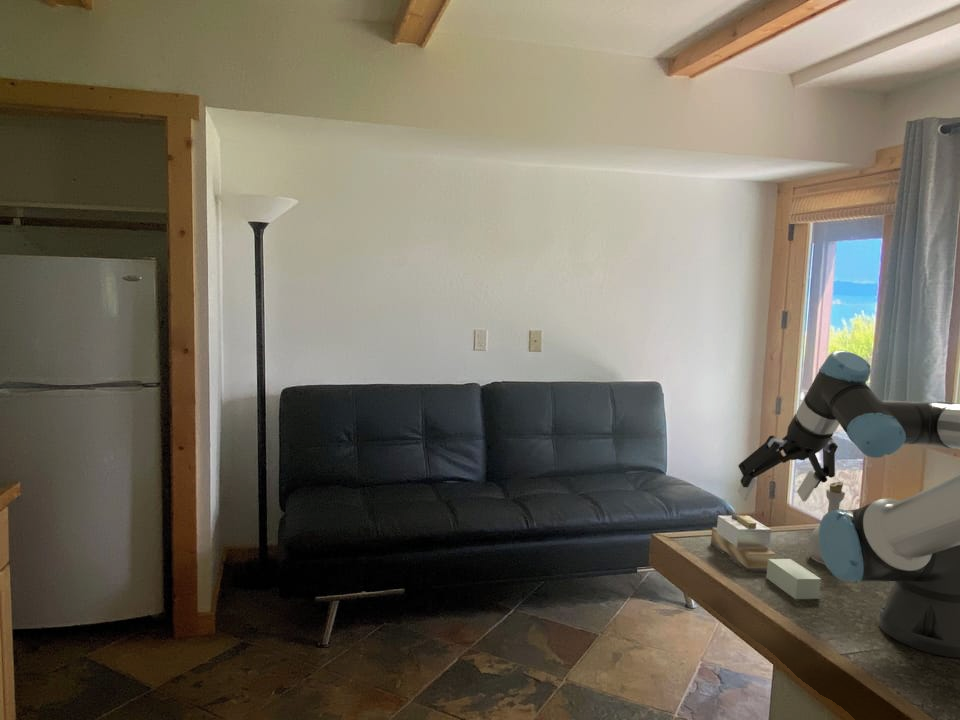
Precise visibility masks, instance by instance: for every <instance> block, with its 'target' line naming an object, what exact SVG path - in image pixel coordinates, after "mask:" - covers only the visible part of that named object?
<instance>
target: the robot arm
mask: <svg viewBox="0 0 960 720" xmlns="http://www.w3.org/2000/svg"><path fill="white" fill-rule="evenodd" d="M871 372H872V371H871V365H870V363H869V362H868V361H867V360H866V359H865V358H863V357H862V356H861V355H858V354H856V353H853V352H850V351H846V350H845V351H841V350H837V351H833V352H831V353H830V354H829V355H828V356H827V357H826V359H825V361H824V362H823V364H822V365H821V366H820V367H819V369H818V372H817V374H816V375H815V378H814V380H813V381H812V383H811V385H810V387H809V389H808V390H807V392H806V394H805V396H804V398H803V400H802V402H801V404H800V405H799V407H798V409H797V410H796V413H795V414H794V415H793V417H792V419H791V421H790V423H789V425H788V427H787V432H786V435H785V436H784V437H783V438H780V439H779V438H776V437H775V435H772V434H771V435H770V436H768V438H767V440H765V442H764V443H763V444H762V445H760V446H759V447H758V448H757V449H756V450H755V451H754V452H752V453H751V454H750V455H749V456H747V457H746V458H745V459H744V460H743V461H741V462H740V463H739V464H737V465H738V469H739V471H740V472H741V474H742V476H741V478H740V486H739V488H738V490H737V492H738V494H739V496H740V498H741V499H742V501H744V502H745V501H747V500H748V498H749V496H750V494H751V493H752V491H753V489H754V488H755V485H756V484H757V482H758V480H759V479H758V477H759V476H760V475H761V474H763V473H765V472H767V471H769V470H771V469H772V468H773V467H776V466H777V465H780V464H781V463H783V464H784V463H786V462H789V461H795V460H799V461H805V460H807V459H808V461H809V462H810V464H811V466H812V468H813V470H809V471H808V473H807V474H806V476H805V478H804V479H803V481H802V482H801V484H800V485H799V487H798V489H797V490H796V492H797V494H798V497H800V499H801V501H802V502H806V501H808V499H809V497H810V496H811V495H812V493H813V491H814V489H816V488H818V486H819V484H820V483H826V482H827V481H828V478H831V479H832V478H834V477H835V476H836V463H835V461H836V460H835V459H836V457H835V456H836V452H837V450H838V445H837V443H836V442H835V440H834V438H833V435H834V433H835V432H836V430H837V429H838V427H839V425H840V426H841V428H842V429H843V431H844V432H845V434H846V435H847V437H848V439H849V440H850V441H851V442H852V443H853V444H854V445H855V446H856V447H857V448H858V450H860V452H861V453H862V454H863V455H865V456H866V457H870V458H874V459H875V458H876V459H877V458H878V459H879V458H882V457H884V456H885V455H886V456H890V455H892V454H895V452H897V451H898V450H899V449H901V447H902V446H903V445H919V446H920V445H921V446H923V445H924V446H933V447H941V448H947V449H956V450H960V403H954V402H951V401H949V402H948V401H908V400H902V401H901V400H882V399H879V398H878V396H877V395H876V394H875V392H874V391H872V389H871V388H870V387H869V385H867V381H868V380H869V379H870V375H871ZM782 451H783V453H784V455H783V453H782ZM820 451H822V465H823V466H821V464H820V462H819V459H818V458H817V457H818V456H817V455H816V454H818V453H819V452H820ZM827 477H828V478H827ZM818 527H819V535H818V537H819V547H820V551H821V555H822V558H823V560H824V562H825V564H826V565H825V566H826V568H827V569H828V570H829V571H830V572H831V574H832V575H833V576H834V577H835V578H837V579H838V580H840V581H844V582H851V583H856V584H857V583H865V582H866V583H867V582H869V583H871V582H872V583H873V582H874V583H875V582H877V583H878V582H894V584H893V587H892V588H891V591H890V593H889V594H888V597H887V599H886V602H885V604H883V605H882V606H881V608H880V609H879V616H878V626H879V628H880V629H881V630H882V631H883V632H884V633H885V634H886V635H887V636H889V637H890V638H892V639H894V640H896V641H897V642H900V643H901V644H903V645H906V646H907V647H911V648H913V649H915V650H919V651H922V652H925V653H928V654H931V655H932V654H933V655H937V656H940V657H946V658H947V657H948V658H954V659H955V658H957V659H959V658H960V474H959V475H956V476H953V477H952V478H949V479H947V480H945V481H943V482H941V483H937V484H936V485H933V486H932V487H929V488H926V489H924V490H922V491H920V492H918V493H916V494H913V495H910V496H909V497H907V498H903V499H902V500H897V499H895V498H889V497H887V498H880V499H877V500H873V501H872V502H870V503H868V504H866V505H863V506H861V507H859V508H855V509H847V510H845V509H841V508H839V509H838V510H834V511H830V512H828V511H827V512H826V513H825V515H823V517H822V518H821V520H820V523H819V526H818Z"/></svg>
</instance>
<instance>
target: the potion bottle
mask: <svg viewBox="0 0 960 720" xmlns="http://www.w3.org/2000/svg"><path fill="white" fill-rule="evenodd" d="M843 486H844V482H841V481H836V482H834V481H833V482H831V483H829V488H828V489H827V488H826V491H825V493H826V495H825V496H826V498H827V500H828V507H827V508H828V509H827V513H828V512H830V511H834V510H838V509H840V507H841V506H840V504H841V502H842V501H843V500H844V498H845V495H846V493H845V492H844V491H842V490H843ZM818 535H819V526H817V527H815V528H814V530H813V531H812V533H811V536H810V538H809V541H808V543H807V545H808V550H809V554H811V560H813V561H814V562H817V563H818V564H821V565H824V566H826V564H825V562H824V560H823V558H822V555H821V551H820V547H819V537H818Z"/></svg>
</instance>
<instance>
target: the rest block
mask: <svg viewBox="0 0 960 720" xmlns="http://www.w3.org/2000/svg"><path fill="white" fill-rule="evenodd" d="M765 578H766V579H767V580H769V581H770V582H771V583H773V584H774V585H775V586H777V587H778V588H779V589H781V590H783V592H785V593H786V594H787V595H789V596H790V597H792V598H793V599H794V600H817V599H818V600H819V599H820V594H821V593H820V592H821V582H822V579H821V578H820V577H818V576H817V575H816V574H815V573H812V572H811V571H809V570H808V569H807V568H805V567H804V566H802V565H800V564H799V563H797V562H796V561H794V560H793V559H792V558H775V559H768V565H767V572H766V576H765Z"/></svg>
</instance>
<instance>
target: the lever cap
mask: <svg viewBox="0 0 960 720" xmlns="http://www.w3.org/2000/svg"><path fill="white" fill-rule="evenodd" d="M716 528H717V533H718V534H719V535H720V536H722V537H723V538H725V539H726V540H727V541H729V542H730V543H732V544H733V545H734V546H736V547H766V548H770V545H771V544H770V543H771V532H772V529H771V528H769V527H768V526H766V525H764V524H763V523H761V522H759V521H758V520H756V519H754V518H753V517H751V516H750V515H742V514H738V513H732V514H731V515H717V524H716Z"/></svg>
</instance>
